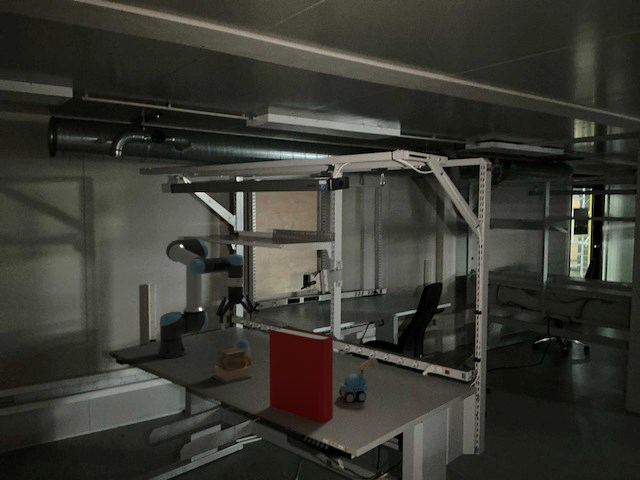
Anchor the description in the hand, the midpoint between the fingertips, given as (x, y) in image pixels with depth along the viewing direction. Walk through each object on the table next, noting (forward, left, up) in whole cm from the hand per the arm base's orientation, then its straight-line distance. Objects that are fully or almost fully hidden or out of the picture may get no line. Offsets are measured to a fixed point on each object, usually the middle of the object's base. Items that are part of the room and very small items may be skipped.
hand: (235, 327), depth 253 cm
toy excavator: (+65, +25, -22) cm, 73 cm away
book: (+62, -3, -22) cm, 66 cm away
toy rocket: (-6, +6, -22) cm, 24 cm away
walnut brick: (+7, -6, -17) cm, 19 cm away
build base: (+7, -6, -22) cm, 24 cm away
